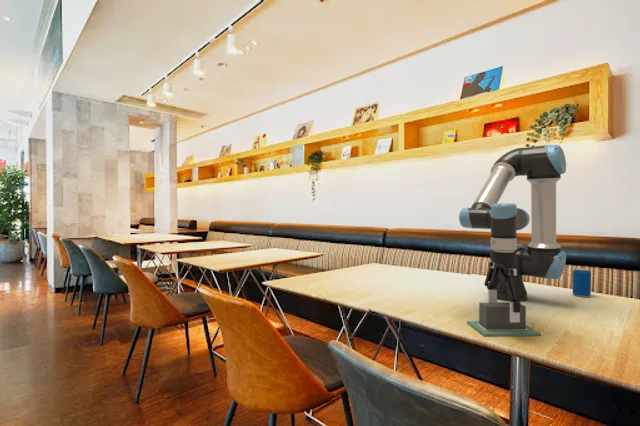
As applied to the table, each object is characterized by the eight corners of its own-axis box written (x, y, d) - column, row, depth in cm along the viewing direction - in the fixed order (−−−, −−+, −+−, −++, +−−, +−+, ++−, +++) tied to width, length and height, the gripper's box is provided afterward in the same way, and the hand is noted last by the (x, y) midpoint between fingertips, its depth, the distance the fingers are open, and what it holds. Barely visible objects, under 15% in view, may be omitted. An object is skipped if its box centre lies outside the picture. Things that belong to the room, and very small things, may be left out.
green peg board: (518, 323, 122) (518, 306, 122) (541, 336, 110) (541, 317, 110) (467, 323, 122) (467, 306, 122) (483, 336, 110) (484, 317, 110)
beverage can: (593, 298, 154) (594, 270, 154) (576, 297, 155) (577, 270, 155) (585, 294, 160) (586, 268, 160) (569, 293, 162) (570, 267, 161)
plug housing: (516, 324, 118) (517, 302, 118) (525, 329, 113) (525, 306, 113) (479, 324, 118) (479, 302, 118) (486, 329, 113) (486, 306, 113)
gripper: (474, 245, 128) (474, 303, 128) (513, 257, 103) (513, 329, 103) (495, 245, 128) (494, 303, 129) (539, 256, 103) (538, 328, 104)
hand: (502, 314), depth 116 cm, fingers open, 13 cm apart
